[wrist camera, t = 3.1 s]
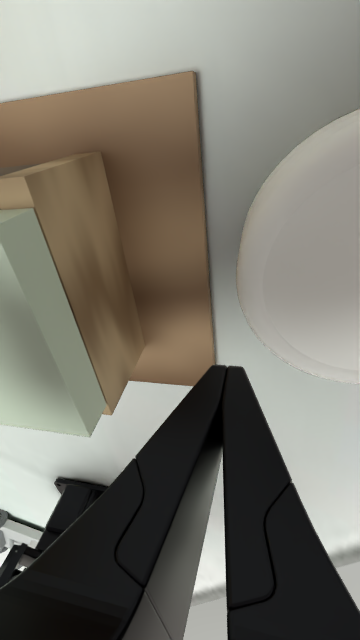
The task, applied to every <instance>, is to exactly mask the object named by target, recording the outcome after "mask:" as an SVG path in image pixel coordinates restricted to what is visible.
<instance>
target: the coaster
mask: <svg viewBox="0 0 360 640" xmlns="http://www.w3.org/2000/svg"><path fill="white" fill-rule="evenodd" d="M236 285H237V293H238V298H239V301H240V305H241V308H242V311H243V313H244V315H245V317H246V320H247V322H248V324H249V326H250V327H251V329H252V330H253V332H254V333H255V335H256V336H257V338H258V339H259V340H260V341H261V342H262V343H263V345H264V346H265V347H267V348H268V349H269V350H270V351H271V352H272V353H273V354H274V355H276V356H277V357H279V358H280V359H282V360H283V361H284V362H286V363H288V364H290V365H291V366H293V367H295V368H297V369H299V370H301V371H304V372H306V373H308V374H311V375H314V376H317V377H321V378H324V379H328V380H333V381H338V382H345V383H353V384H360V109H358V110H356V111H354V112H351V113H349V114H347V115H345V116H343V117H340V118H338V119H336V120H334V121H333V122H331V123H329V124H328V125H326V126H324V127H323V128H321V129H319V130H318V131H316V132H314V133H313V134H312V135H311V136H309V137H308V138H307V139H305V140H304V141H303V142H301V143H300V144H299V145H298V146H296V147H295V148H294V149H293V150H292V151H291V152H290V153H289V154H288V155H287V156H286V157H285V158H284V159H283V160H282V161H281V162H280V163H279V164H278V165H277V167H276V168H275V169H274V170H273V171H272V173H271V174H270V175H269V176H268V178H267V179H266V181H265V182H264V184H263V185H262V187H261V188H260V190H259V191H258V193H257V195H256V196H255V199H254V201H253V203H252V205H251V207H250V209H249V211H248V214H247V217H246V220H245V223H244V226H243V231H242V237H241V242H240V248H239V255H238V260H237V269H236Z"/></svg>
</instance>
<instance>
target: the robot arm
mask: <svg viewBox="0 0 360 640" xmlns="http://www.w3.org/2000/svg"><path fill="white" fill-rule="evenodd" d="M222 452H223V485H224V522H225V559H226V596H227V634H228V640H360V611H359V609H358V608H357V606H356V604H355V602H354V600H353V599H352V597H351V595H350V593H349V592H348V590H347V588H346V586H345V585H344V583H343V581H342V579H341V577H340V576H339V574H338V572H337V571H336V568H335V567H334V565H333V563H332V561H331V560H330V558H329V556H328V554H327V552H326V550H325V548H324V546H323V544H322V543H321V541H320V539H319V537H318V535H317V533H316V531H315V529H314V527H313V525H312V523H311V521H310V519H309V517H308V514H307V512H306V510H305V508H304V506H303V504H302V502H301V499H300V497H299V495H298V492H297V490H296V488H295V485H294V484H293V483H292V479H291V477H290V474H289V472H288V470H287V467H286V465H285V463H284V460H283V458H282V456H281V453H280V451H279V449H278V446H277V444H276V442H275V439H274V437H273V435H272V432H271V430H270V428H269V425H268V423H267V421H266V418H265V416H264V414H263V411H262V409H261V407H260V404H259V402H258V400H257V397H256V395H255V393H254V391H253V388H252V386H251V384H250V381H249V379H248V377H247V374H246V372H245V370H244V368H243V367H241V366H228V368H227V366H225V365H212V366H211V367H210V368H209V369H208V370H207V371H206V372H205V374H204V375H203V376H202V377H201V378H200V380H199V381H198V382H197V383H196V384H195V386H194V387H193V388H192V389H191V390H190V392H189V393H188V394H187V395H186V396H185V398H184V399H183V400H182V401H181V402H180V404H179V405H178V406H177V407H176V408H175V410H174V411H173V412H172V413H171V414H170V415H169V417H168V418H167V419H166V420H165V421H164V423H163V424H162V425H161V426H160V427H159V429H158V430H157V431H156V432H155V433H154V435H153V436H152V437H151V438H150V439H149V441H148V442H147V443H146V444H145V445H144V447H143V448H142V449H141V450H140V451H139V453H138V454H137V455H136V459H132V461H131V462H130V463H129V464H128V465H127V467H126V468H125V469H124V470H123V472H122V473H121V474H120V475H119V476H118V477H117V478H116V479H115V481H114V482H113V483H112V484H111V485H110V486H109V487H108V488H107V487H102V486H96V485H91V484H85V483H80V482H74V481H69V480H63V479H56V481H55V483H54V484H55V486H56V487H57V489H58V490H59V492H60V493H61V497H60V499H59V501H58V503H57V505H56V507H55V509H54V511H53V513H52V515H51V516H50V518H49V520H48V522H47V524H46V527H45V530H44V532H43V534H42V536H41V537H40V539H39V541H38V543H37V545H36V547H35V549H34V548H31V547H29V546H28V545H27V544H25V543H23V542H22V544H21V545H15V544H14V545H13V547H12V548H11V550H10V552H9V554H8V556H7V557H6V559H5V561H4V563H3V564H2V566H1V568H0V640H183V637H184V632H185V627H186V622H187V617H188V613H189V608H190V604H191V599H192V594H193V589H194V585H195V580H196V575H197V571H198V566H199V561H200V556H201V552H202V547H203V542H204V538H205V533H206V528H207V523H208V519H209V514H210V509H211V504H212V500H213V495H214V490H215V486H216V481H217V476H218V471H219V467H220V462H221V457H222ZM19 564H20V565H22V566H25V567H27V568H25V569H24V570H23V571H20V570H18V569H17V568H18V566H19Z"/></svg>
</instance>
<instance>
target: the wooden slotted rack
mask: <svg viewBox="0 0 360 640" xmlns="http://www.w3.org/2000/svg"><path fill="white" fill-rule="evenodd" d="M24 208H33V209H34V212H35V215H36V217H37V220H38V223H39V225H40V228H41V231H42V233H43V236H44V239H45V241H46V244H47V247H48V249H49V252H50V255H51V257H52V260H53V263H54V266H55V268H56V271H57V274H58V276H59V279H60V282H61V284H62V287H63V290H64V292H65V295H66V298H67V300H68V303H69V306H70V308H71V311H72V314H73V316H74V319H75V322H76V325H77V327H78V330H79V333H80V335H81V338H82V341H83V343H84V346H85V349H86V351H87V354H88V357H89V359H90V362H91V365H92V367H93V370H94V373H95V375H96V378H97V381H98V384H99V386H100V389H101V392H102V394H103V397H104V400H105V402H106V407H105V409H104V411H103V413H102V414H106V415H112V414H113V412H114V410H115V408H116V406H117V404H118V402H119V399H120V397H121V395H122V393H123V391H124V389H125V387H126V385H127V383H128V381H140V382H151V383H163V384H174V385H185V386H195V384H196V383H197V382H198V381H199V380H200V378H201V377H202V376H203V375H204V374H205V372H206V371H207V370H208V369H209V368H210V367H211V366H212V365H215V355H214V340H213V325H212V310H211V295H210V280H209V265H208V250H207V235H206V220H205V205H204V190H203V175H202V160H201V145H200V130H199V115H198V101H197V86H196V72H194V71H189V72H183V73H178V74H172V75H166V76H160V77H154V78H148V79H142V80H136V81H130V82H124V83H118V84H112V85H106V86H100V87H94V88H88V89H83V90H77V91H71V92H65V93H59V94H53V95H47V96H41V97H35V98H29V99H23V100H17V101H11V102H5V103H0V210H9V209H24Z"/></svg>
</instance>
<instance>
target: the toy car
mask: <svg viewBox="0 0 360 640" xmlns="http://www.w3.org/2000/svg"><path fill="white" fill-rule="evenodd" d="M0 515H1V516H0V553H2V552H4V551H6V550H7V549H8V548H10V550H11V548H12V547H13V545H14V544H15V545H21V544H22V542H23V543H25V544H27V545H28V546H29V547H31V548H34V549H35V547H36V545H37V543H38V541H39V539H40V537H41V536H42V534H43V532H41V531H38V530H35V529H33V528H30V527H28V526H25V525H22V524H20V523H17V522H14V521H12V520H9V519H7V517H8V514H7V511H4V510H1V509H0ZM21 567H22V565H20V564H19V566H18V568H17V569H19V568H21Z"/></svg>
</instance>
